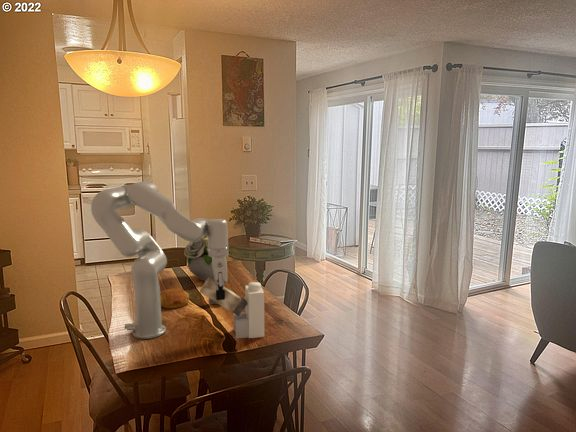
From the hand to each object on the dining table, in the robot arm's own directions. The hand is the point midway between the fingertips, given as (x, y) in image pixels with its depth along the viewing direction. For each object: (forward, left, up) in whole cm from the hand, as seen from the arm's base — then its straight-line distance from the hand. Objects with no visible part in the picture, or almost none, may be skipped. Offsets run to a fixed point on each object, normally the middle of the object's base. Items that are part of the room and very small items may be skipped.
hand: (220, 297), depth 162 cm
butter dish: (+1, +34, -16) cm, 38 cm away
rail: (0, 0, -2) cm, 2 cm away
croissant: (-19, +40, -16) cm, 47 cm away
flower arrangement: (-2, +75, -16) cm, 77 cm away
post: (+11, 0, -16) cm, 19 cm away
